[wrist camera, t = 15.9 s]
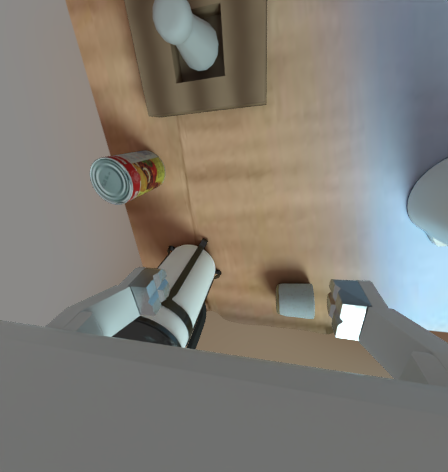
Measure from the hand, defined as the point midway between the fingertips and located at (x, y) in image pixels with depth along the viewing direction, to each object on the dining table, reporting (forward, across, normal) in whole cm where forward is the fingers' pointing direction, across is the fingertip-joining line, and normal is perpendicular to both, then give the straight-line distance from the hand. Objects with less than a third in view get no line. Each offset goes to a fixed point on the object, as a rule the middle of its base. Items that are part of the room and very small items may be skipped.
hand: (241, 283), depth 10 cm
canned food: (+34, +25, -1) cm, 42 cm away
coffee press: (+34, +17, +23) cm, 45 cm away
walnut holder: (+34, +10, -18) cm, 40 cm away
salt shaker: (+33, +10, -19) cm, 39 cm away
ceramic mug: (+34, -7, +30) cm, 46 cm away
